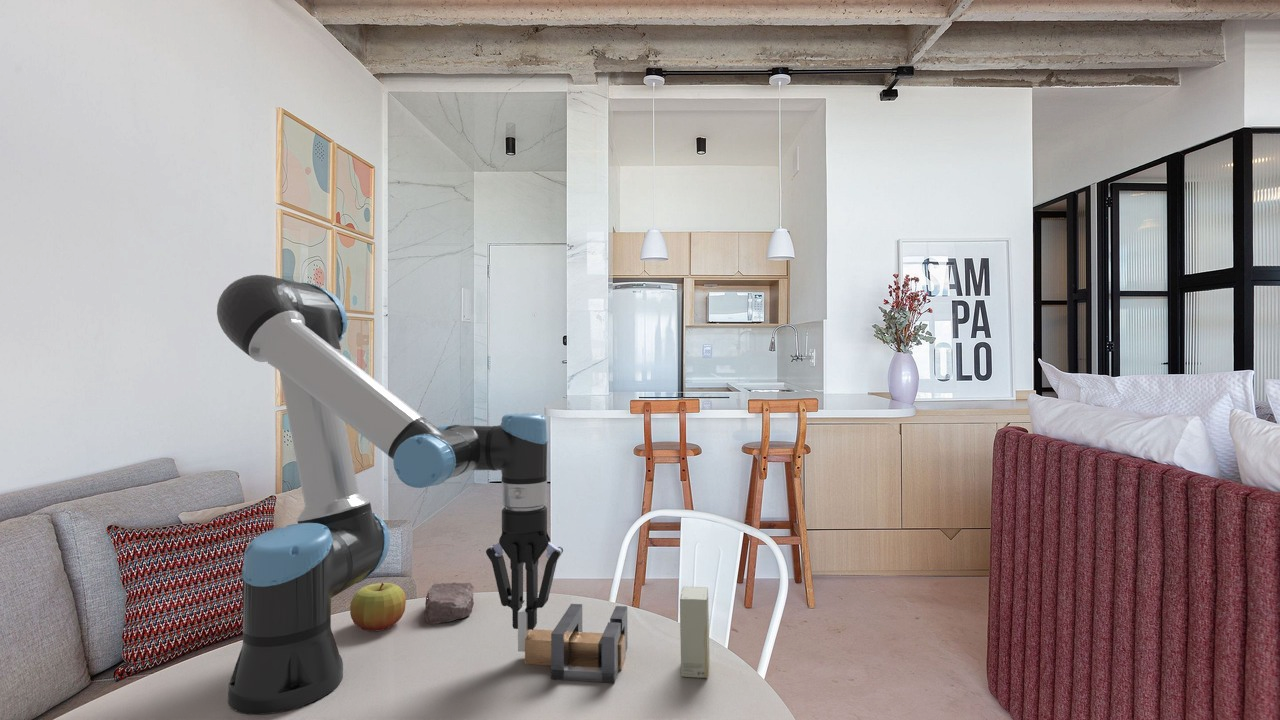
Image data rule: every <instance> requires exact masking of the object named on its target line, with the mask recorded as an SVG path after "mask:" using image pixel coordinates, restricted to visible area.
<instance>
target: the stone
mask: <svg viewBox="0 0 1280 720" xmlns="http://www.w3.org/2000/svg"><path fill="white" fill-rule="evenodd" d="M426 593H427V594H426V597H425V608H424V618H425V621H426V623H427V624H428V625H435V624H443V623H449V622H453V621H455V620H459V619H464V618H467V617H469V616H470V615H471V613H472V612H473V607H474V604H475V603H474V585H473V584H472V583H471V582H441V583H437V582H436V583H435V582H434V583H433V584H432V586H430V588H429V589H428V591H427V592H426ZM427 598H428V599H427Z"/></svg>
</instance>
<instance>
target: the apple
mask: <svg viewBox="0 0 1280 720" xmlns="http://www.w3.org/2000/svg"><path fill="white" fill-rule="evenodd" d="M406 600H407V599H406V593H405V591H404V590H403V589H402V588H401V587H400V586H399V585H398V584H395V583H391V582H377V583H371V584H368V585H365V586H364V587H362V588H360V589H358V590H357V592H356V593H355V594H354V595H353V597H352V599H351V601H350V606H349V612H350V618H351V620H352V622H353V624H354V625H356V627H358V628H359V629H361V630H362V631H363V630H364V631H367V632H377V631H378V632H379V631H383V630H387V629H389V628H391V627H393V626H395V625H396V624H397V623H398V622H399V621H400V620H401V619H402V617H403V616H404V613H405V612H406V603H407V601H406Z"/></svg>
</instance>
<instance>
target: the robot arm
mask: <svg viewBox="0 0 1280 720" xmlns="http://www.w3.org/2000/svg"><path fill="white" fill-rule="evenodd" d="M216 307H217V308H216V316H217V321H218V323H219V326H220V328H221V330H222V333H224V334H225V335H226V337H227V338H228V339H229V340H230V341H231V342H232V343H233V344H234V345H235V346H236V347H237V348H238V349H240V351H242V352H243V353H245V354H247V356H249V357H250V358H251V359H252V360H254V361H256V362H258V363H267V364H269V365H270V366H272V367H273V368H274V369H276V370H278V372H279V375H280V380H281V387H282V391H283V396H284V401H285V408H286V412H287V418H288V424H289V428H290V434H291V440H292V444H293V449H294V455H295V460H296V461H295V462H296V466H297V470H298V476H299V482H300V487H301V491H302V496H303V497H302V498H303V503H304V508H303V510H302V511H301V512H300V514H299V516H298V517H296V518H297V519H296V521H297V523H294V524H289V525H286V526H285V527H276V528H274V529H271V530H269V531H265V532H263V533H261V534H260V535H257V536H255V538H253V539H252V540H251V541H250V542H249V543H248V544H247V546H246V548H245V550H244V554H243V565H242V567H241V578H242V646H241V649H240V651H239V654H238V657H237V660H236V662H235V665H234V668H233V672H232V675H231V678H230V679H229V682H228V686H227V705H228V706H229V707H230V709H232V710H233V711H236V712H239V713H242V714H250V715H265V714H272V713H280V712H285V711H289V710H293V709H297V708H299V707H302V706H305V705H308V704H310V703H313V702H316V701H317V700H320V699H321V698H323V697H325V696H327V695H328V694H330V693H331V692H332V691H334V690H335V689H337V687H338V686H339V685H340V684H341V683H342V681H343V678H344V662H343V658H342V656H341V653H340V651H339V649H338V646H337V642H336V640H335V637H334V634H333V631H332V622H331V621H332V619H331V618H332V617H331V615H332V599H333V597H335V596H338V595H339V594H341V593H343V592H344V591H346V590H347V589H350V587H352V586H354V585H356V584H359V583H361V582H364V580H366V579H368V578H369V577H370V576H371V575H372V574H373V573H374V572H375V571H377V570H378V569H379V568H380V567H381V566H382V564H383V563H384V561H385V559H386V558H387V555H388V553H389V549H390V541H391V540H390V533H389V529H388V527H387V526H388V525H387V524H386V523H385V521H384V520H383V519H382V518H380V517H379V515H378V514H376V513H375V512H373V511H372V505H371V500H370V499H369V498H367V497H366V496H364V495H361V494H360V492H359V487H358V482H357V478H356V473H355V472H356V471H355V467H354V466H355V465H354V462H353V456H352V451H351V446H350V441H349V436H348V430H347V425H348V426H349V427H351V428H352V429H353V430H355V431H356V432H357V433H359V434H360V435H361V436H362V437H364V438H365V439H366V440H368V441H369V442H370V443H371V444H372V445H374V446H375V447H376V448H377V449H379V450H380V451H381V452H383V453H384V454H385V455H387V456H388V457H389V458H391V460H393V463H392V464H393V469H394V472H395V473H396V475H397V477H398V479H399V480H400V481H401V482H402V483H404V484H405V485H407V486H408V487H411V488H415V489H422V488H428V487H433V486H438V485H440V484H442V483H444V482H446V481H447V480H449V479H451V478H454V477H457V476H460V475H462V474H465V473H468V472H470V471H471V472H472V471H494V472H495V471H500V472H501V505H502V506H503V508H502V509H501V535H500V537H499V540H498V542H497V543H495V544H492V545H491V546H489V547H488V548H487V549H486V551H485V554H486V556H487V558H488V559H489V560H490V562H491V565H492V569H493V573H494V578H495V583H496V587H497V591H498V596H499V599H500V604H501V606H503V607H508V608H509V609H511V611H512V612H511V613H512V629H514V630H517V652H521V653H522V652H523V653H525V639H526V637H527V636H528V635H529V633H530V632H531V631H532V630H533V629H535V628H536V627H537V623H538V609H542V608H544V606H545V605H546V604H547V602H548V601H549V597H550V594H551V589H552V583H553V579H554V577H555V572H556V567H557V564H558V560H559V559H560V557H561V556H562V554H563V552H564V549H563V547H562V546H558V547H557V546H556V545H555V544H553V543H552V542H551V538H550V536H549V533H548V508H547V506H546V504H547V503H548V478H547V477H548V475H547V473H548V471H547V470H548V443H549V441H548V437H547V421H546V417H544V415H542V414H540V413H507V414H504V415H503V416H502V417H501V423H500V425H460V424H452V425H451V424H450V425H441V426H435V425H434V424H433V423H432V422H431V421H429V420H428V419H427V418H425V417H424V416H423V415H422V414H420V413H419V412H418V411H416V410H415V409H414V408H412V407H411V406H410V405H409V404H408V403H406V402H405V401H403V400H402V399H401V398H400V397H398V396H397V395H395V394H394V393H393V392H391V391H390V389H388V388H387V387H385V386H384V385H383V384H381V383H380V382H379V381H377V380H376V379H375V378H374V377H372V376H371V375H369V373H367V372H366V371H365V370H363V369H362V368H361V367H359V366H358V365H357V364H355V363H354V362H353V361H352V360H351V359H349V358H348V357H347V356H345V355H344V354H342V349H341V345H340V342H341V341H342V339H344V333H347V328H348V316H347V312H346V309H345V307H344V305H343V303H342V301H341V300H340V299H339V298H338V297H337V296H336V295H334V293H332V292H331V291H329V290H327V289H325V288H322V287H320V286H318V285H316V284H312V283H309V282H298V281H294V280H288V279H283V278H280V277H276V276H273V275H267V274H253V275H251V274H250V275H247V276H243V277H241V278H238V279H237V280H236V279H235V280H234V281H232V283H230V284H229V285H228V286H227V287H226V288H225V289H224V290H223V291H222V293H221V294H220V296H219V298H218V301H217V305H216ZM346 424H347V425H346ZM545 551H546V558H547V561H546V565H545V568H544V572H543V576H542V579H541V580H542V581H541V585H540V589H539V588H538V587H539V586H538V585H539V581H538V580H539V579H538V577H539V574H538V573H539V572H538V570H539V559H540V558H541V557H542V555H543V554H544V552H545ZM504 553H505V554H506V556H507V558H508V559H509V560H510V567H509V568H510V571H511V576H510V577H511V582H510V577H509V574H508V570H507V566H506V561H505V557H504ZM524 565H525V566H524ZM524 568H525V575H526V576H525V577H526V578H525V579H526V580H525V581H526V583H525V589H526V590H525V591H526V594H525V596H526V598H525V599H526V601H525V600H524ZM525 602H526V603H525ZM524 603H525V605H524Z"/></svg>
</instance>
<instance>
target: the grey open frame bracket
mask: <svg viewBox="0 0 1280 720" xmlns="http://www.w3.org/2000/svg"><path fill="white" fill-rule="evenodd" d="M552 630H553V632H552V633H551V666H550V668H551V669H550V670H551V671H550V674H551V675H550V676H551V677H550V678H551V680H561V681H574V682H575V681H576V682H591V683H601V684H602V683H605V684H606V683H607V684H616V680H617V678H618V675H619V670H618V640H619V638H620V635H621V634H625V654H626V652H627V650H628V606H624V605H615V608H614V609H613V611H612V614H611V615H610V618H609V621H608V622H607V625H606V627H605V629H604V631H603V632H602V633H603V635H602V668H596V667H581V666H569V638H570V636H571V634H572V633H573V632H583V603H570V605H569V606H568V608H567V609H566V610H565V612H564V613H563V615H562V617H561V618H560V620H559V621H558V623H557V624H556V626H555V628H554V629H552ZM626 649H627V650H626Z"/></svg>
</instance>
